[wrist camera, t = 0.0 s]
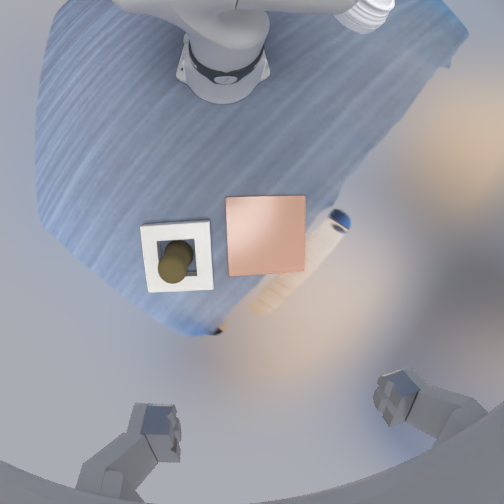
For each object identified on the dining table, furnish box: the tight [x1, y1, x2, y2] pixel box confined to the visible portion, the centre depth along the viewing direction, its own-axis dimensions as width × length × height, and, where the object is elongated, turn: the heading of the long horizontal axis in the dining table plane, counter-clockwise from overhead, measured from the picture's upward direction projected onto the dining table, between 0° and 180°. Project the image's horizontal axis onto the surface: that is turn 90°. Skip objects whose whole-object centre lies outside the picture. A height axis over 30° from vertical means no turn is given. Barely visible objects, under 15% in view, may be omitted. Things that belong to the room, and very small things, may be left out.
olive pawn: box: [158, 240, 193, 284], centre depth 51 cm, size 6×6×11 cm
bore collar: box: [140, 220, 214, 292], centre depth 54 cm, size 13×13×3 cm
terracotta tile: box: [226, 195, 305, 276], centre depth 57 cm, size 16×16×1 cm
